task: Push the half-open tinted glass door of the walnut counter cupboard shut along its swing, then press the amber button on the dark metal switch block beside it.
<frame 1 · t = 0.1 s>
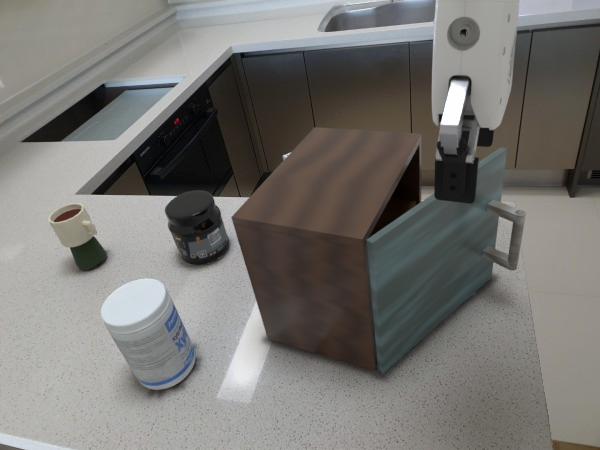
hand: (465, 170, 41), 34 cm above the table, tool pointing down, fingers open, 9 cm apart
cupboard: (349, 294, 79), on the table
supplement container: (206, 251, 95), on the table
switch block: (454, 226, 89), on the table
cupboard door: (457, 270, 62), point 12 cm above the table, hinge at 25.0°
button: (455, 207, 86), point 5 cm above the table, slide at 0.2 cm
character mug: (93, 262, 99), on the table
supplement tub: (168, 366, 73), on the table
cosmetic box: (306, 200, 105), on the table
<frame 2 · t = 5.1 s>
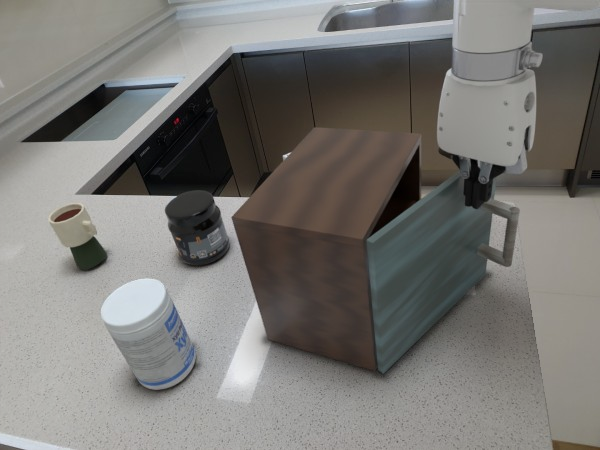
hand: (476, 202, 59), 21 cm above the table, tool pointing down, fingers closed
cupboard door: (454, 268, 63), point 12 cm above the table, hinge at 22.6°, touching gripper
everything else where it was.
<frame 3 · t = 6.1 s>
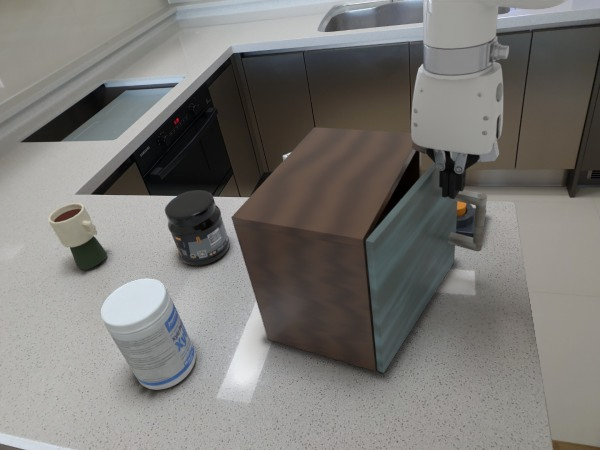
hand: (451, 192, 62), 21 cm above the table, tool pointing down, fingers closed
cupboard door: (437, 258, 65), point 12 cm above the table, hinge at 10.2°, touching gripper
everything else where it was.
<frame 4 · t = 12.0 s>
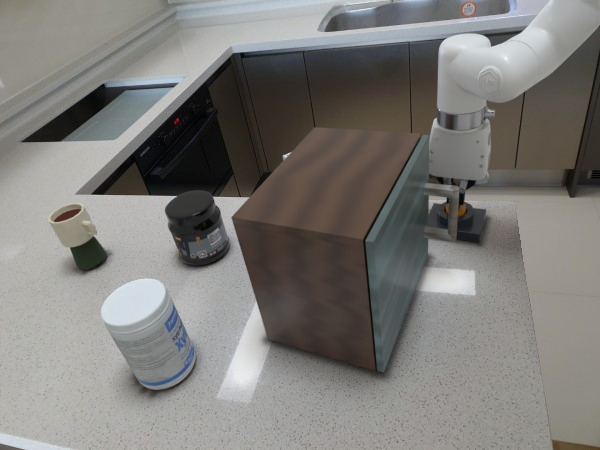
hand: (455, 206, 86), 5 cm above the table, tool pointing down, fingers closed
cupboard door: (421, 253, 66), point 12 cm above the table, hinge at -0.1°
button: (455, 210, 87), point 4 cm above the table, slide at -0.5 cm, touching gripper
everything else where it was.
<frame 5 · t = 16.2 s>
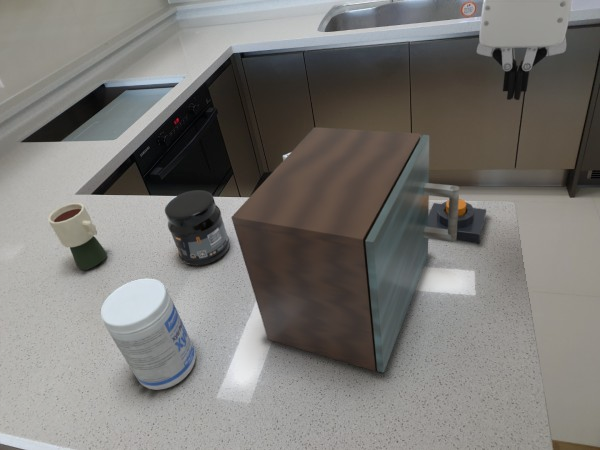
hand: (514, 95, 64), 29 cm above the table, tool pointing down, fingers closed
button: (455, 207, 86), point 5 cm above the table, slide at 0.2 cm
everything else where it was.
at the end: cupboard door at +0° (first picture: +25°); button pushed in 1.1 cm at the most during the clip, back to 0.2 cm at the end; button slide at 0.2 cm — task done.
